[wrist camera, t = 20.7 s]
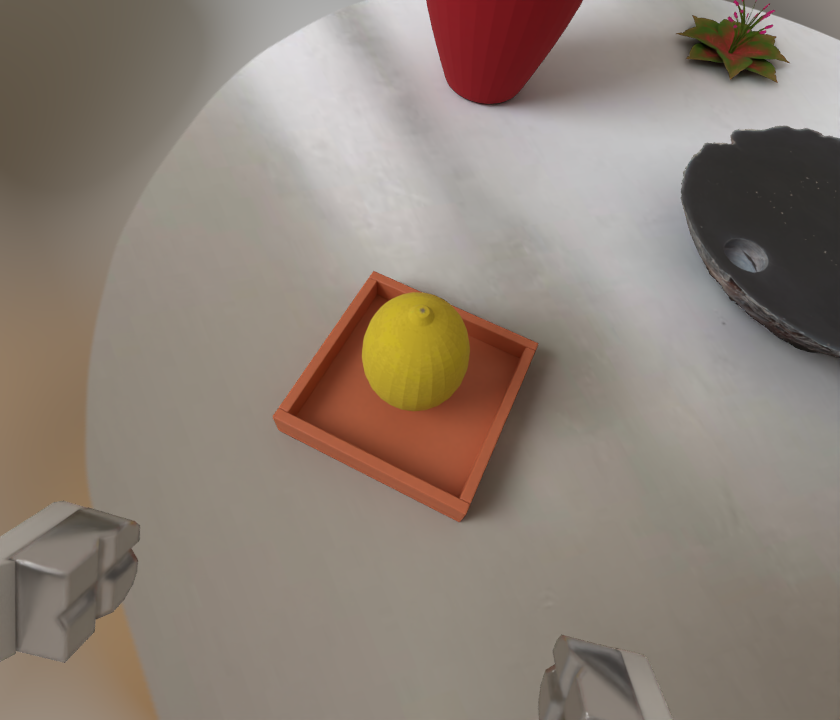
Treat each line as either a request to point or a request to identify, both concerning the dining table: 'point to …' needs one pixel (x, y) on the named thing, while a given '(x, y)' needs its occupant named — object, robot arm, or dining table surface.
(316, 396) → the tray
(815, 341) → the board
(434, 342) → the lemon
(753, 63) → the lily flower
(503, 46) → the vase
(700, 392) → the dining table surface
